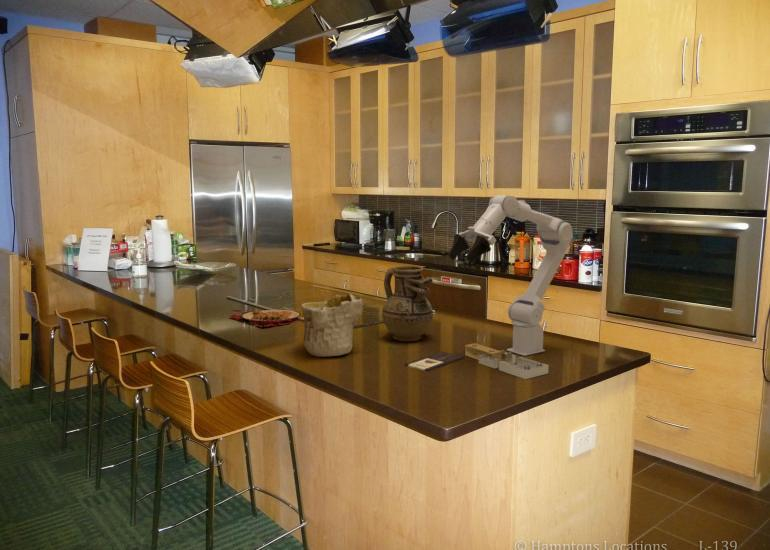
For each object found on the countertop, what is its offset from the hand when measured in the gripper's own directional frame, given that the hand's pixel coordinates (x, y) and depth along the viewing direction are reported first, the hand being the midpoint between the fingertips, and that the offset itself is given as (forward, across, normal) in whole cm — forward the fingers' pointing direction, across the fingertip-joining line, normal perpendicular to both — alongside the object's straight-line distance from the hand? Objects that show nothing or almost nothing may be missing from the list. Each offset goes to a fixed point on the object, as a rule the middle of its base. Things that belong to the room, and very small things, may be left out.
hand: (459, 258), depth 180 cm
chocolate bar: (+23, -8, +23) cm, 34 cm away
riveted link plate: (+12, -2, +32) cm, 35 cm away
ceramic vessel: (+39, -38, +9) cm, 55 cm away
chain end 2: (+12, +15, +32) cm, 37 cm away
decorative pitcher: (+15, -36, +30) cm, 49 cm away
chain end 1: (+12, +4, +32) cm, 35 cm away
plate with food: (+35, -94, +14) cm, 101 cm away
